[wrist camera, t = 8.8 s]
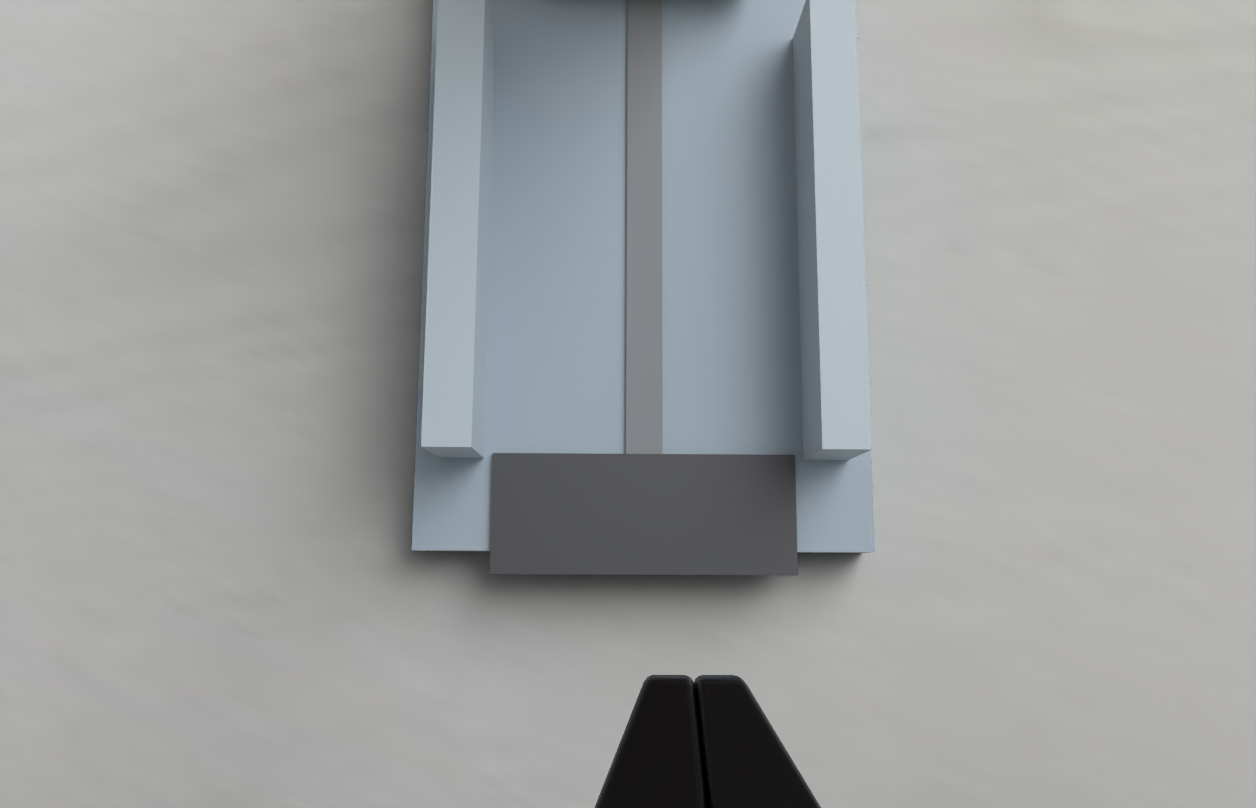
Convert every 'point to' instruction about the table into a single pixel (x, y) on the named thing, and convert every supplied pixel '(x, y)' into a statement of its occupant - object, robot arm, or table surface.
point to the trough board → (644, 288)
